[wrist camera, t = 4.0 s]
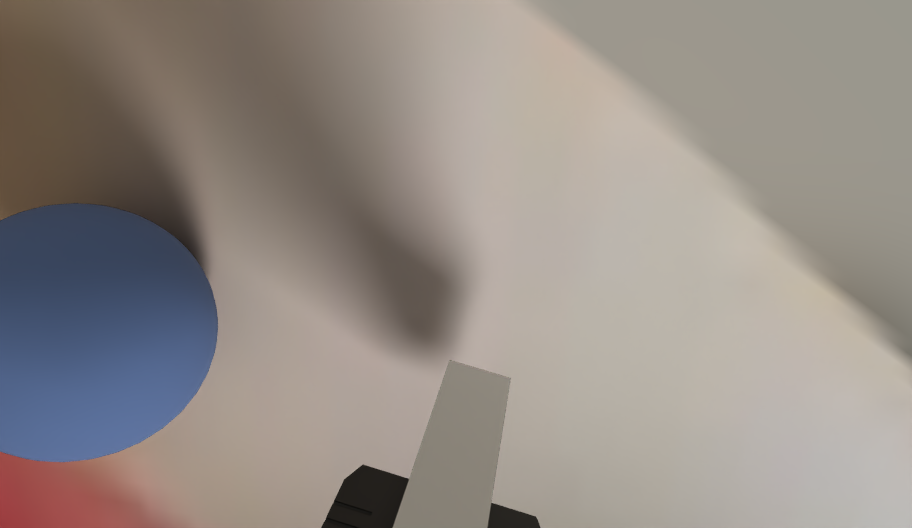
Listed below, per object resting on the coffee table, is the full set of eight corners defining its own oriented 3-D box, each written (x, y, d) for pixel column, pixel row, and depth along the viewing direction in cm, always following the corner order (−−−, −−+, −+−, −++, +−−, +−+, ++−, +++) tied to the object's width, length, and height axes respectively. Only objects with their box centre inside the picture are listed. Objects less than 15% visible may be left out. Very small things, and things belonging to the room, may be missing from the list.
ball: (270, 210, 16) (119, 311, 11) (248, 397, 19) (114, 557, 13) (57, 150, 17) (-193, 218, 11) (62, 341, 19) (-143, 472, 14)
